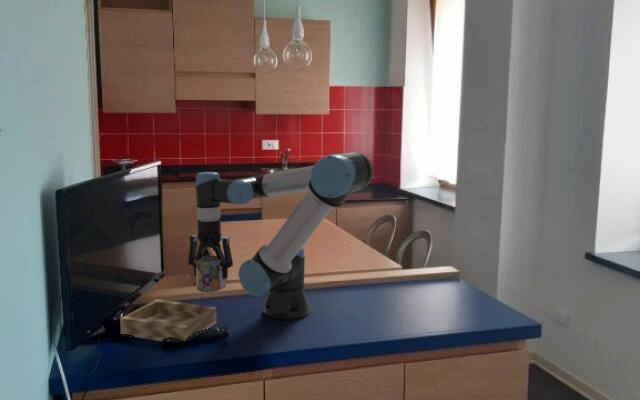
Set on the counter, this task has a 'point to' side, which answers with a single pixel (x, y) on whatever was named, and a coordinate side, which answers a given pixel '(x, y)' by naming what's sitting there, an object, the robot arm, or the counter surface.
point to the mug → (208, 273)
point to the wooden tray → (167, 320)
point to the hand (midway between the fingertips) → (211, 286)
